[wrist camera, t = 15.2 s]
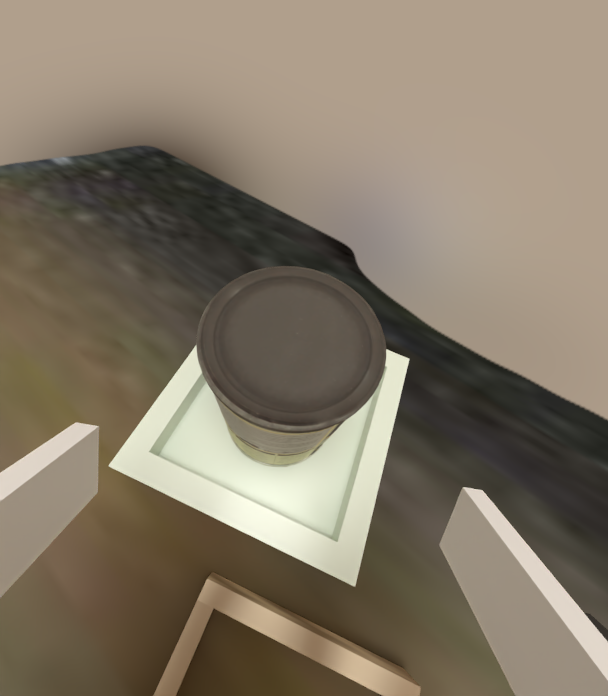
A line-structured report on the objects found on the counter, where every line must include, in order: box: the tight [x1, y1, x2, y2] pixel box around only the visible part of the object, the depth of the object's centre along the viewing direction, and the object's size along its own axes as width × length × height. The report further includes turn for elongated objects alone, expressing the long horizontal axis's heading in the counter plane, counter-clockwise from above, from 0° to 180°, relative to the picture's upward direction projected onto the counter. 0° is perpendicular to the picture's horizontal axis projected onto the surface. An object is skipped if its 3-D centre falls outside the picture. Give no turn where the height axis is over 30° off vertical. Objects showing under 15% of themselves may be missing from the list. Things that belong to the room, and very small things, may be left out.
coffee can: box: [196, 266, 386, 467], centre depth 22 cm, size 10×10×14 cm
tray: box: [109, 346, 409, 587], centre depth 27 cm, size 20×20×3 cm
